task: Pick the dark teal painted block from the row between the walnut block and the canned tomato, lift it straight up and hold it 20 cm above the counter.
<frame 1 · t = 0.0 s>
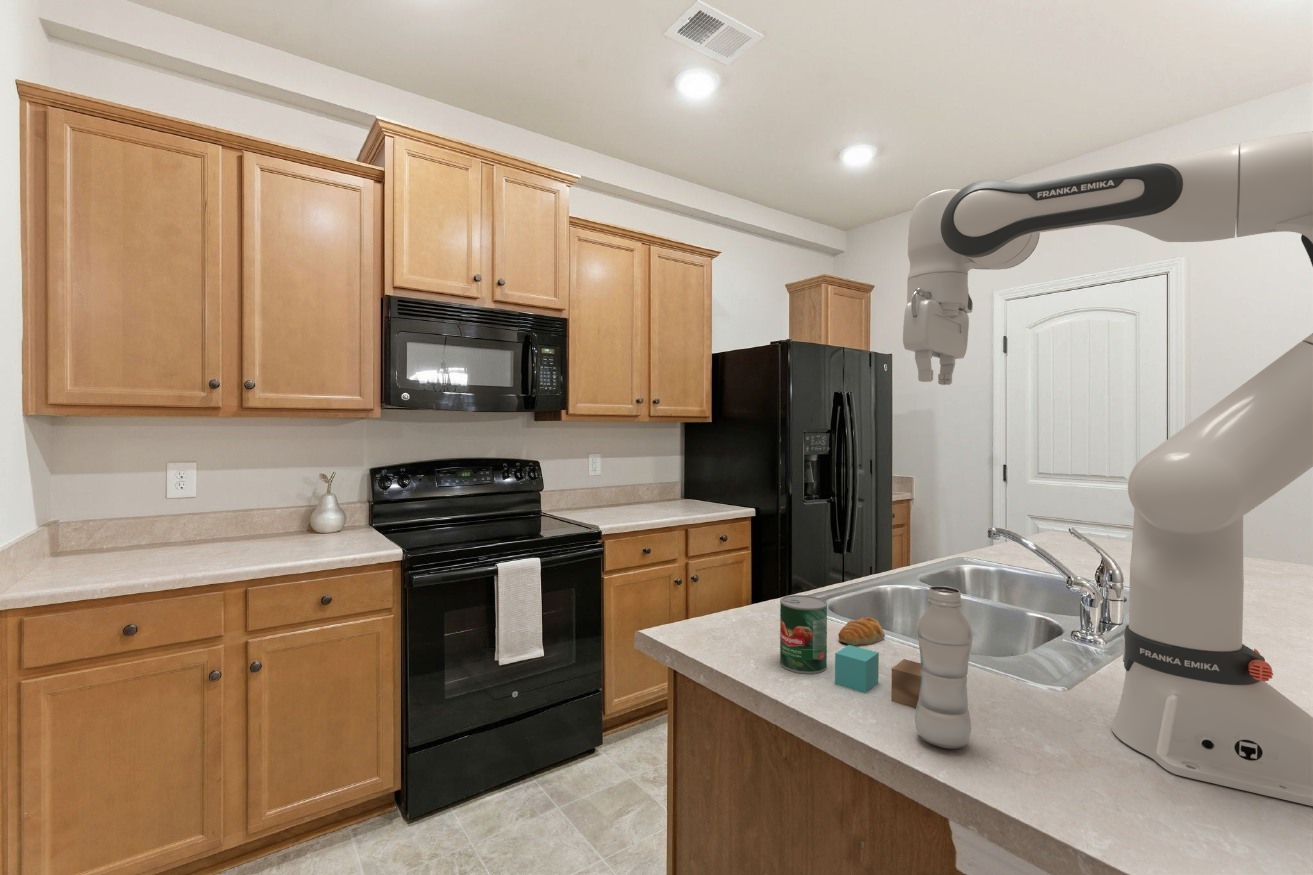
hand: (935, 383, 98), 48 cm above the countertop, tool pointing down, fingers open, 8 cm apart
canned tomato: (803, 665, 105), on the countertop
teal block: (856, 683, 97), on the countertop
pastry: (861, 641, 117), on the countertop
walnut block: (914, 701, 91), on the countertop
plastic bottle: (942, 743, 79), on the countertop
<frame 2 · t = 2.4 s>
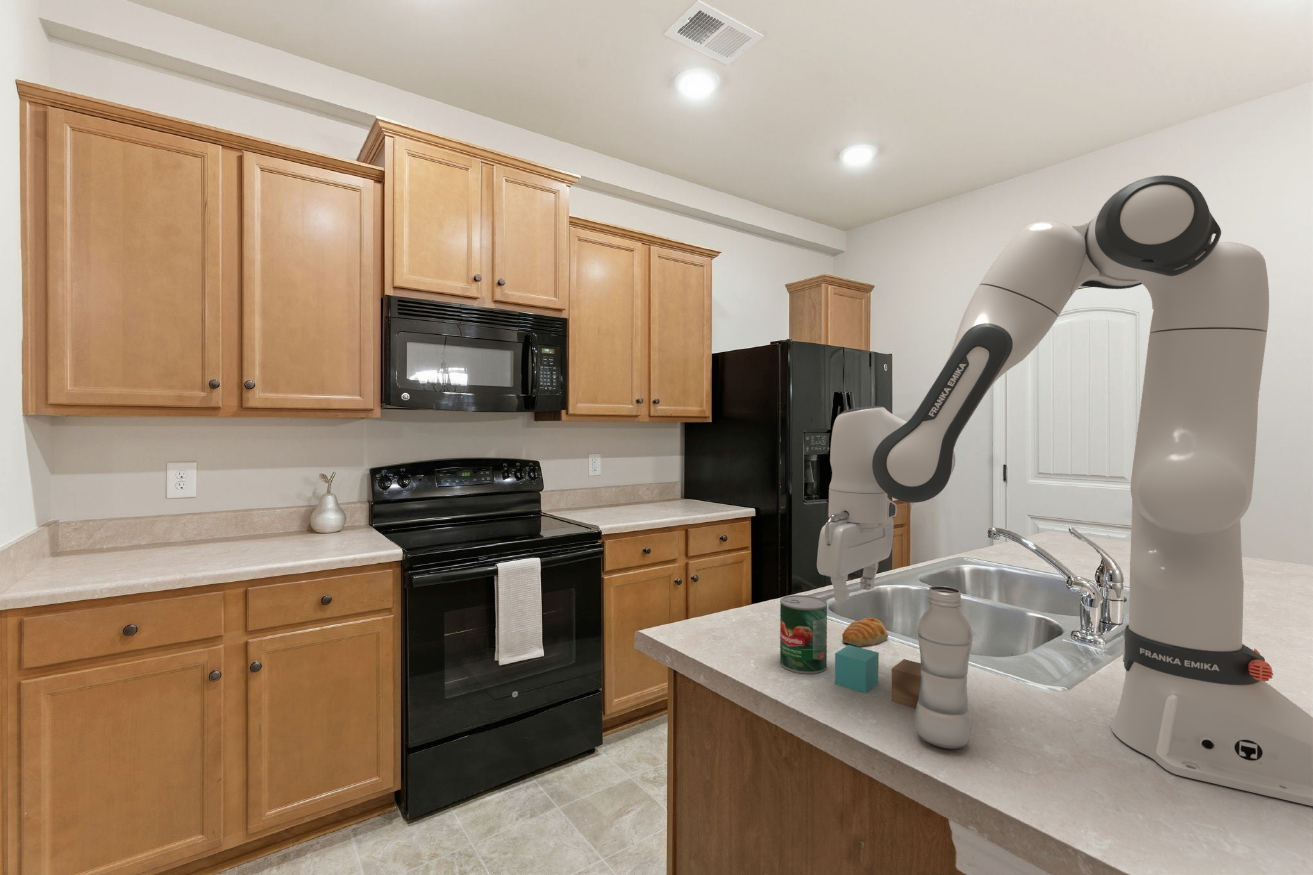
hand: (854, 594, 97), 14 cm above the countertop, tool pointing down, fingers open, 8 cm apart
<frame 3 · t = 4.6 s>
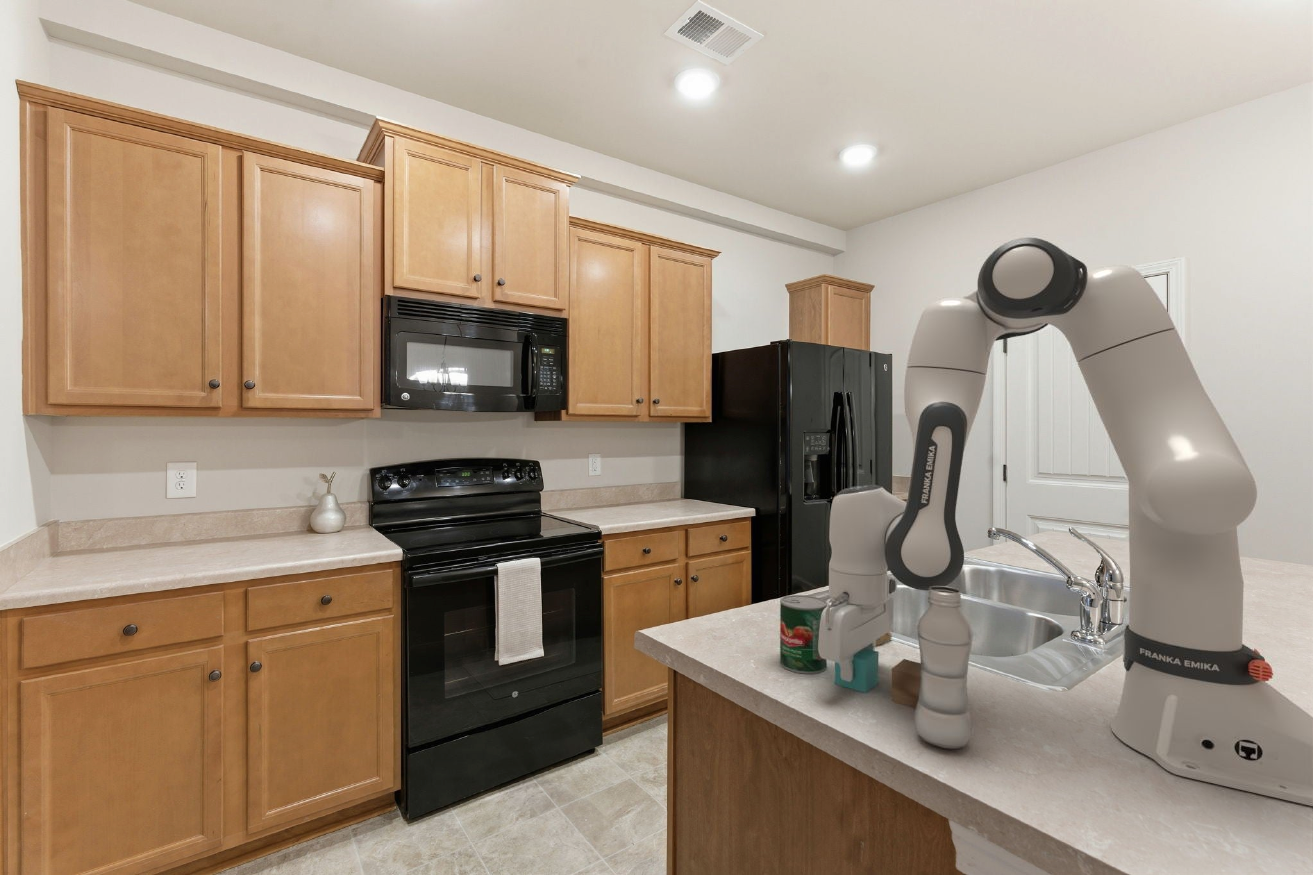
hand: (856, 673, 97), 2 cm above the countertop, tool pointing down, fingers closed on teal block, 5 cm apart
teal block: (856, 683, 97), on the countertop, touching gripper
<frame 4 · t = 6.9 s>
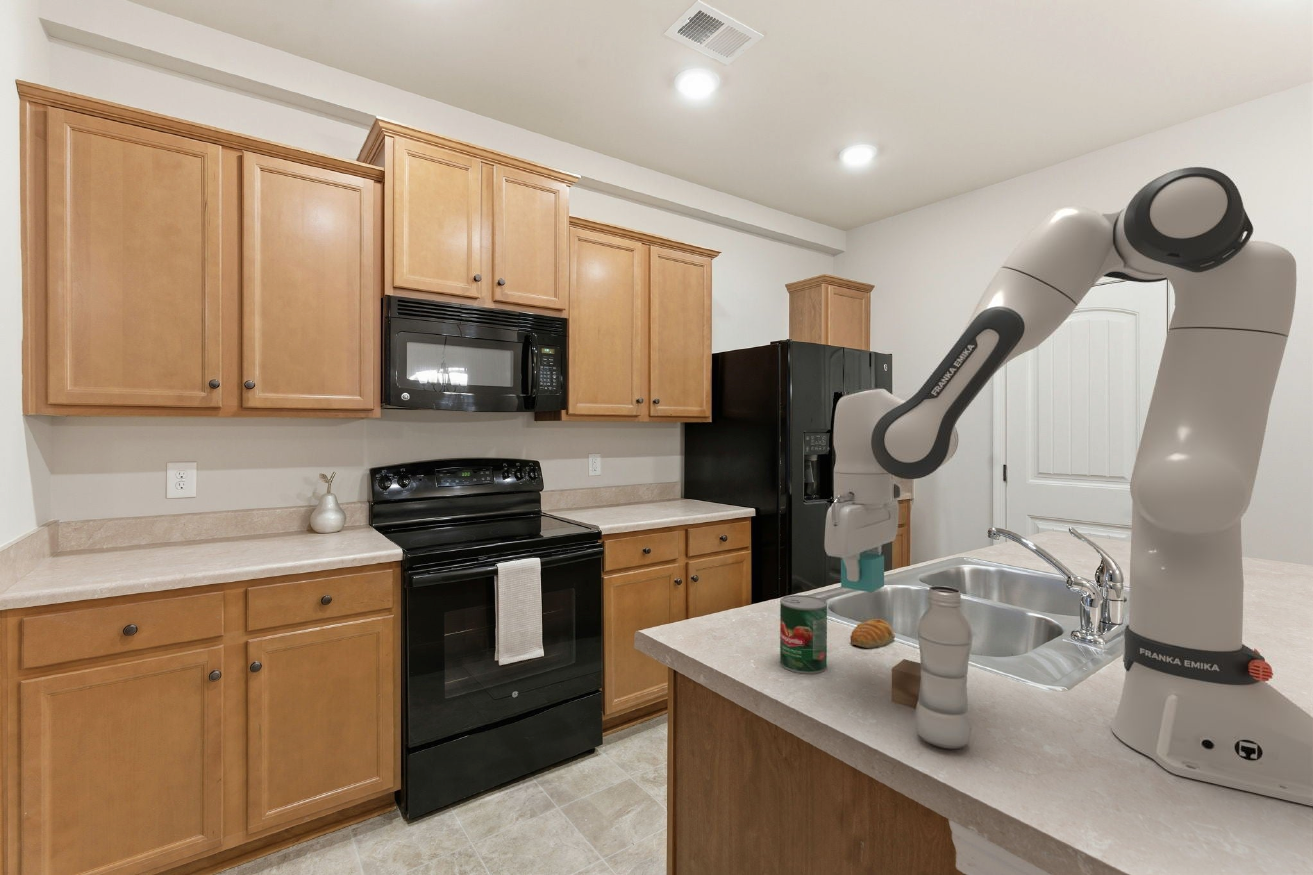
hand: (862, 576, 98), 17 cm above the countertop, tool pointing down, fingers closed on teal block, 5 cm apart
teal block: (862, 586, 98), point 15 cm above the countertop, touching gripper
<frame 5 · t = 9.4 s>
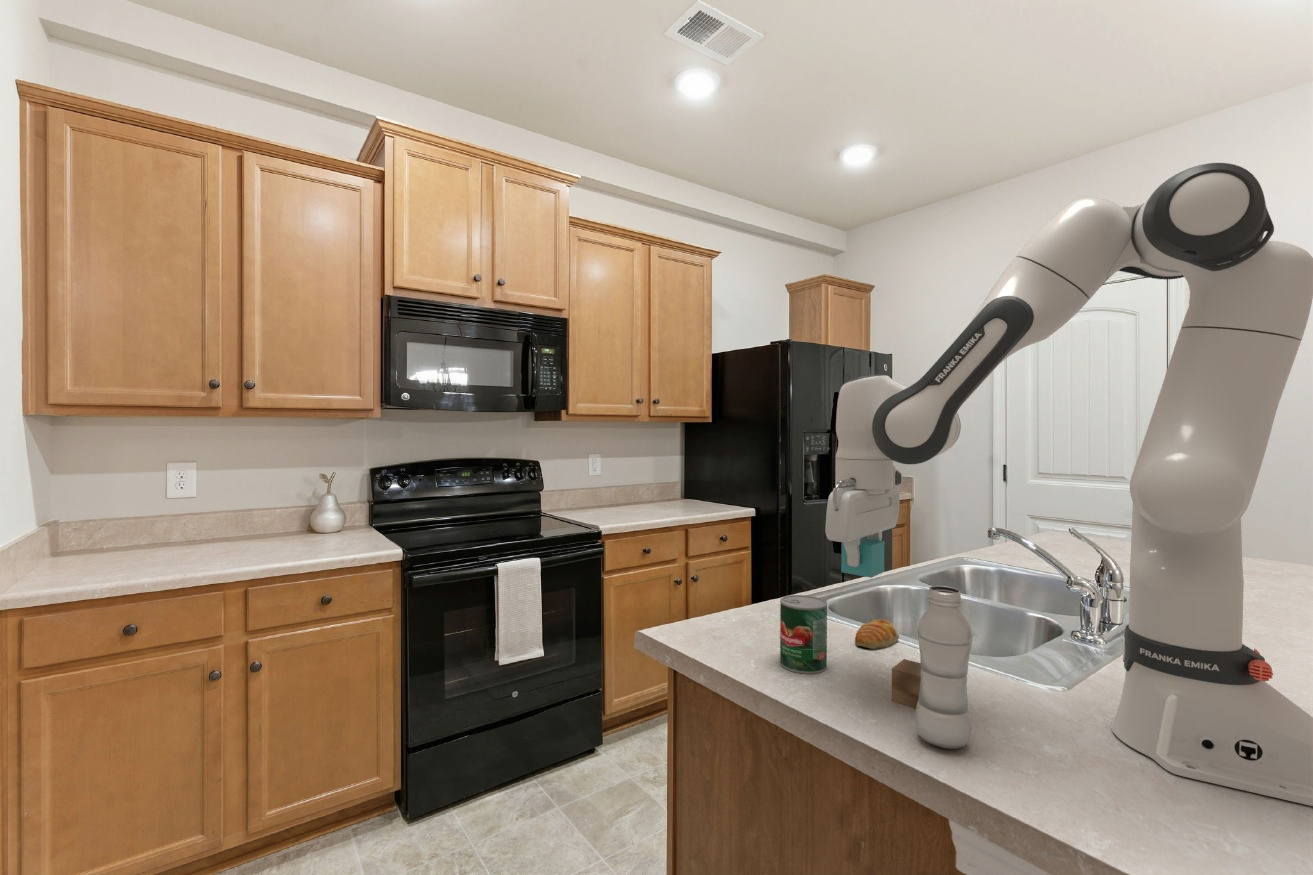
hand: (863, 562, 98), 19 cm above the countertop, tool pointing down, fingers closed on teal block, 5 cm apart
teal block: (862, 572, 98), point 17 cm above the countertop, touching gripper
at the end: the gripper is holding teal block; teal block point 17.5 cm above the countertop; walnut block moved 0.1 cm from its start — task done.
